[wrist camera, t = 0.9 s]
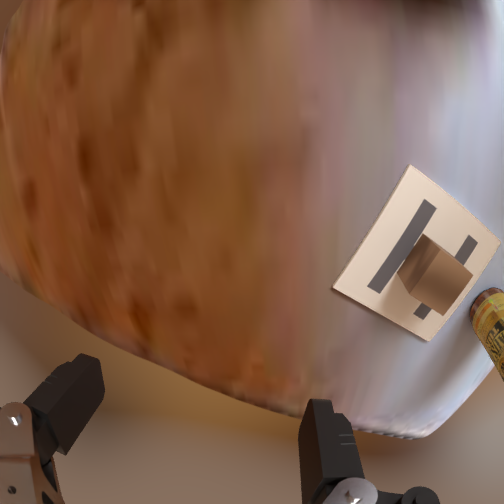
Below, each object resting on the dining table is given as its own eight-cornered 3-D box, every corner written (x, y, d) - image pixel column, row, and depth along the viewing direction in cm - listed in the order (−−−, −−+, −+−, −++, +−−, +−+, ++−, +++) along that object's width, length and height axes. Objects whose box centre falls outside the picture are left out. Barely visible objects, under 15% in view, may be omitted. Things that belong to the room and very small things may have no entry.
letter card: (408, 164, 26) (410, 164, 25) (498, 240, 26) (501, 242, 25) (332, 285, 31) (332, 287, 31) (427, 339, 31) (429, 341, 31)
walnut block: (422, 233, 27) (440, 249, 22) (453, 256, 27) (473, 275, 22) (396, 272, 29) (409, 294, 24) (428, 293, 29) (443, 316, 24)
